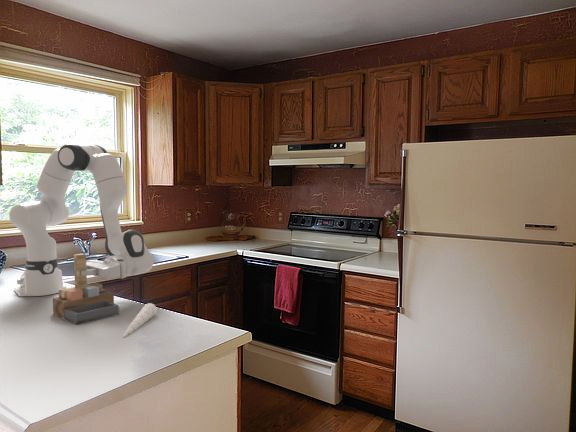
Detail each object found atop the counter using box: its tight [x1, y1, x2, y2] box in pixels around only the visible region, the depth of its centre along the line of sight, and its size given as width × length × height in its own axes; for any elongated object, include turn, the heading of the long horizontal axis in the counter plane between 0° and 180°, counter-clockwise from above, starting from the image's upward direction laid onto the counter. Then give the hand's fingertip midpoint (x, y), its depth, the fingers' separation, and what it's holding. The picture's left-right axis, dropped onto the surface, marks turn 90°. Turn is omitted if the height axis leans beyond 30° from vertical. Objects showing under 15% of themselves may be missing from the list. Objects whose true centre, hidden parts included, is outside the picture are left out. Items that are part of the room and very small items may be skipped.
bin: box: [64, 301, 120, 326], centre depth 154 cm, size 9×15×4 cm, turn 140°
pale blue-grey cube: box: [83, 286, 99, 297], centre depth 160 cm, size 4×4×3 cm
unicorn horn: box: [122, 302, 158, 338], centre depth 145 cm, size 5×24×5 cm, turn 174°
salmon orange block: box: [66, 288, 83, 301], centre depth 156 cm, size 4×4×3 cm
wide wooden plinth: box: [52, 288, 115, 320], centre depth 161 cm, size 9×18×6 cm, turn 140°
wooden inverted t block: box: [58, 253, 103, 298], centre depth 162 cm, size 4×14×14 cm, turn 140°
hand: (78, 272), depth 161 cm, fingers closed on wooden inverted t block, 3 cm apart
